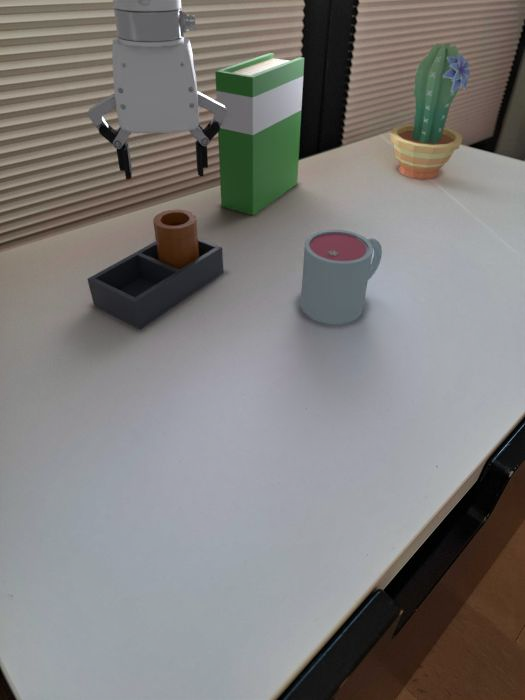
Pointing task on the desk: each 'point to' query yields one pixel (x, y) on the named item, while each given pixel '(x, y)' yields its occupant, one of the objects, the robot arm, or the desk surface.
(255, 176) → the hardback book
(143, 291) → the divided tray
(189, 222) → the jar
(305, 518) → the desk surface
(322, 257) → the mug
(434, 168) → the potted cactus
